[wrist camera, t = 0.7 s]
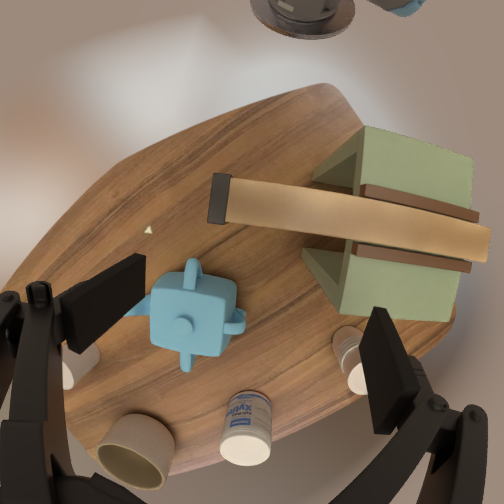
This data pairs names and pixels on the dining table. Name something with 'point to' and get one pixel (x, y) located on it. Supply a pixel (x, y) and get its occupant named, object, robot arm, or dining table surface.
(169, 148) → the dining table surface
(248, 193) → the slide bar
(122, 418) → the planter
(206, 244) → the dining table surface
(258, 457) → the supplement tub
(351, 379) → the candle
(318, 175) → the shelf stand
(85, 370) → the white cylinder
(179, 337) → the teapot
